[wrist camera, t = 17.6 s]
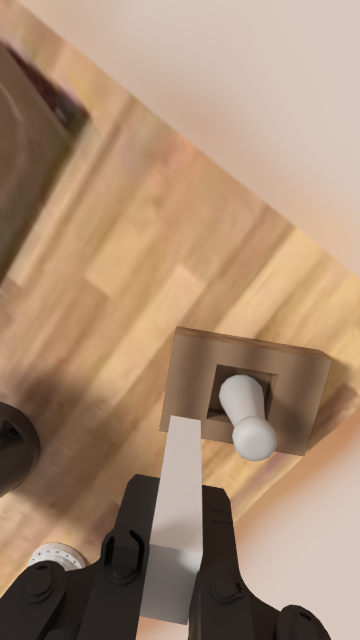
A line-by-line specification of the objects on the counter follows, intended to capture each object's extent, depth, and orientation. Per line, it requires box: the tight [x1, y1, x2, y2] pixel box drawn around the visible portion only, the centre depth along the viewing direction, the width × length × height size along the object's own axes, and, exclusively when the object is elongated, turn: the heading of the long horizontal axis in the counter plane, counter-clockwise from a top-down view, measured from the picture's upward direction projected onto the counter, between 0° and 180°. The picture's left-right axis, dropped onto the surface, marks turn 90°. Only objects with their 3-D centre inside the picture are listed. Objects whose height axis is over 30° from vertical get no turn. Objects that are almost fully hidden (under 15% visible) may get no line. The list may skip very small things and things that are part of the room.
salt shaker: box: [219, 374, 277, 461], centre depth 35 cm, size 6×6×13 cm
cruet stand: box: [159, 327, 332, 456], centre depth 40 cm, size 20×14×4 cm
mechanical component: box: [28, 543, 85, 571], centre depth 50 cm, size 10×4×10 cm
